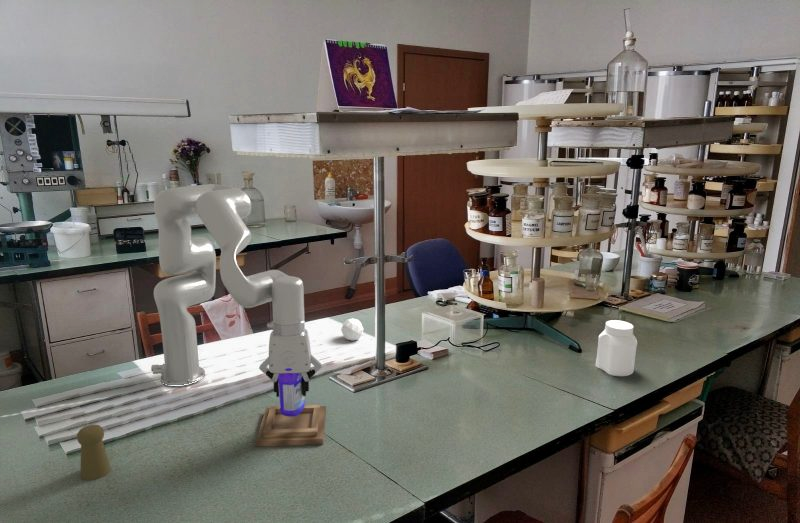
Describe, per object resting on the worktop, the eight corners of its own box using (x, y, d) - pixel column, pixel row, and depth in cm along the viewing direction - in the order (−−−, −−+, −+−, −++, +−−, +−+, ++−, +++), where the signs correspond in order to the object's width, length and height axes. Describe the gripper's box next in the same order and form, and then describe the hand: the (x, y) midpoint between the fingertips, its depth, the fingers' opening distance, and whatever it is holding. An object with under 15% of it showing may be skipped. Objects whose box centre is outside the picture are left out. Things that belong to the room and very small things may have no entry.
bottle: (297, 419, 140) (294, 354, 136) (276, 417, 141) (272, 352, 137) (308, 405, 147) (305, 343, 143) (287, 403, 148) (284, 341, 144)
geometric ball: (355, 348, 201) (355, 337, 195) (337, 337, 204) (336, 325, 197) (367, 333, 206) (368, 321, 199) (349, 322, 208) (349, 310, 202)
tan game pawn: (87, 464, 129) (81, 421, 126) (115, 463, 130) (109, 420, 127) (75, 480, 123) (68, 436, 121) (104, 479, 124) (98, 435, 121)
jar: (590, 363, 185) (594, 320, 182) (613, 359, 189) (618, 316, 185) (615, 378, 175) (620, 333, 171) (639, 373, 179) (645, 329, 175)
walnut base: (256, 446, 137) (255, 436, 136) (266, 412, 152) (265, 403, 152) (322, 444, 138) (322, 434, 138) (326, 410, 154) (325, 401, 153)
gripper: (250, 333, 134) (254, 402, 139) (323, 332, 135) (325, 400, 140) (255, 322, 141) (259, 387, 146) (325, 321, 143) (326, 386, 147)
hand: (291, 393), depth 143 cm, fingers closed on bottle, 5 cm apart
